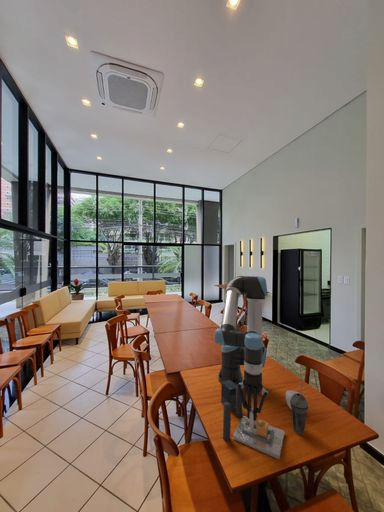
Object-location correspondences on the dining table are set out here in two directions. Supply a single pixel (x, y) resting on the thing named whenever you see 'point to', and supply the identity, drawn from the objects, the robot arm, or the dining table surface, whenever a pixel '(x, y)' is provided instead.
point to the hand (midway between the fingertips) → (251, 426)
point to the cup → (289, 396)
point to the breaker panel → (260, 438)
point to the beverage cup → (299, 412)
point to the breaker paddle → (262, 428)
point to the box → (228, 393)
